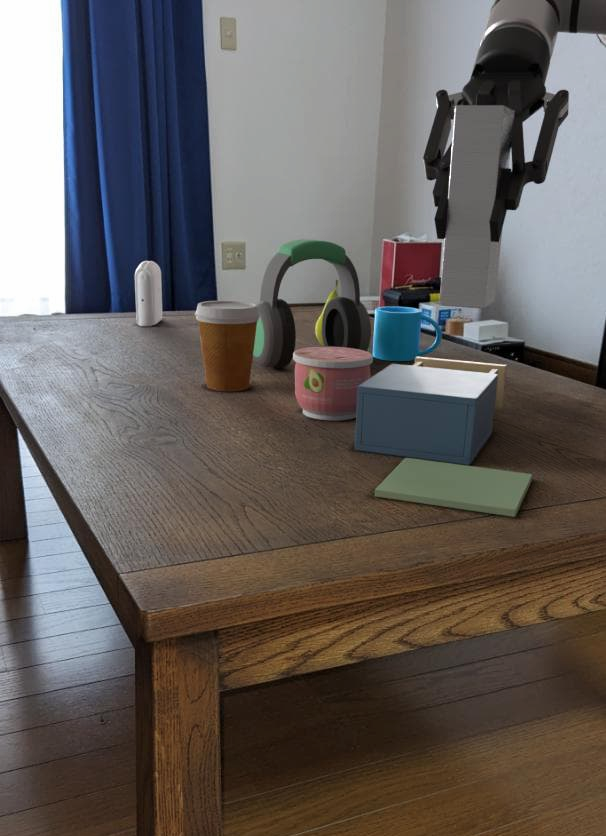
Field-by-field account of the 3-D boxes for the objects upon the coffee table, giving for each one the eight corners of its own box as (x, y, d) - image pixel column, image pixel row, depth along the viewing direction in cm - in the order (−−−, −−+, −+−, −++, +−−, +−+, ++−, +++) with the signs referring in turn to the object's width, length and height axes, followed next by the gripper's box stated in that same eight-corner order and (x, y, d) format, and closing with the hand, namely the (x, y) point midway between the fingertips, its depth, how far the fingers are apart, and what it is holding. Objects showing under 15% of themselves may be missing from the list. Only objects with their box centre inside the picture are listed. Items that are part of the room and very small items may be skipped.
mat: (531, 481, 96) (532, 474, 96) (515, 517, 86) (516, 509, 85) (404, 464, 100) (405, 457, 100) (374, 496, 90) (374, 489, 90)
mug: (370, 359, 157) (372, 311, 154) (375, 351, 164) (377, 305, 161) (439, 363, 155) (443, 315, 152) (441, 355, 162) (445, 309, 159)
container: (280, 406, 123) (281, 348, 120) (349, 401, 127) (352, 344, 124) (309, 425, 114) (311, 363, 111) (383, 420, 118) (386, 359, 115)
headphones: (268, 375, 142) (269, 242, 135) (243, 362, 151) (244, 237, 144) (373, 368, 150) (380, 242, 142) (344, 356, 159) (349, 237, 151)
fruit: (317, 350, 163) (319, 282, 158) (312, 345, 168) (314, 278, 164) (348, 350, 164) (351, 283, 159) (342, 345, 169) (345, 279, 164)
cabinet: (388, 421, 118) (391, 363, 115) (491, 433, 113) (498, 374, 110) (354, 450, 105) (357, 386, 102) (469, 465, 101) (476, 398, 98)
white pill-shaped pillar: (155, 326, 183) (153, 263, 178) (134, 326, 183) (131, 263, 178) (164, 319, 192) (162, 259, 187) (144, 318, 192) (142, 258, 187)
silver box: (494, 301, 93) (516, 98, 86) (483, 308, 88) (505, 92, 81) (452, 298, 95) (469, 98, 87) (439, 305, 89) (456, 93, 82)
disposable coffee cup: (217, 377, 140) (216, 298, 135) (271, 384, 136) (272, 303, 131) (183, 389, 132) (181, 305, 127) (239, 397, 128) (239, 311, 123)
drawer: (420, 391, 130) (424, 351, 128) (506, 400, 126) (511, 359, 124) (388, 419, 115) (391, 374, 113) (484, 430, 111) (489, 384, 109)
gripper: (600, 86, 94) (560, 262, 86) (435, 86, 99) (384, 252, 91) (604, 19, 87) (562, 204, 79) (427, 24, 93) (371, 197, 85)
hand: (466, 230), depth 85 cm, fingers closed on silver box, 4 cm apart
